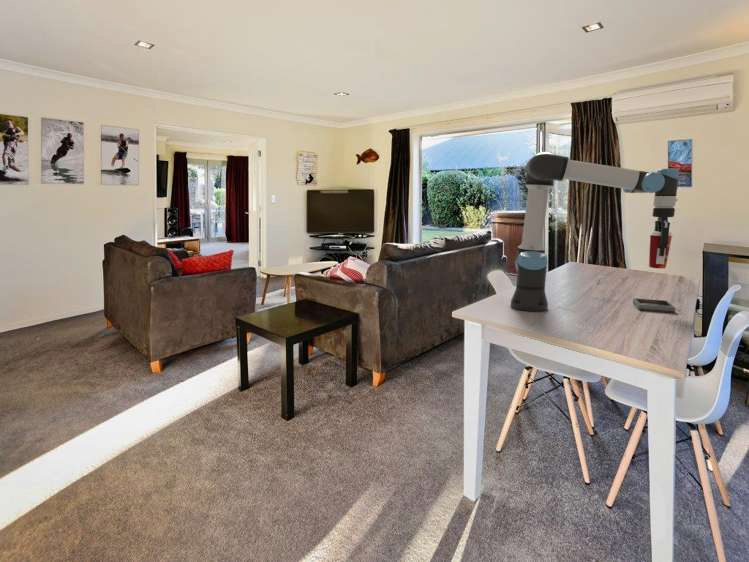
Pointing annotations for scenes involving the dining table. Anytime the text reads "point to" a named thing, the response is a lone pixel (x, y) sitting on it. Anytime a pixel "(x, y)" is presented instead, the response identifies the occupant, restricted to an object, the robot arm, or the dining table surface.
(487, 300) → the dining table surface
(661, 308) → the grey square tray
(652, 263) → the coffee cup
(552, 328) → the dining table surface
